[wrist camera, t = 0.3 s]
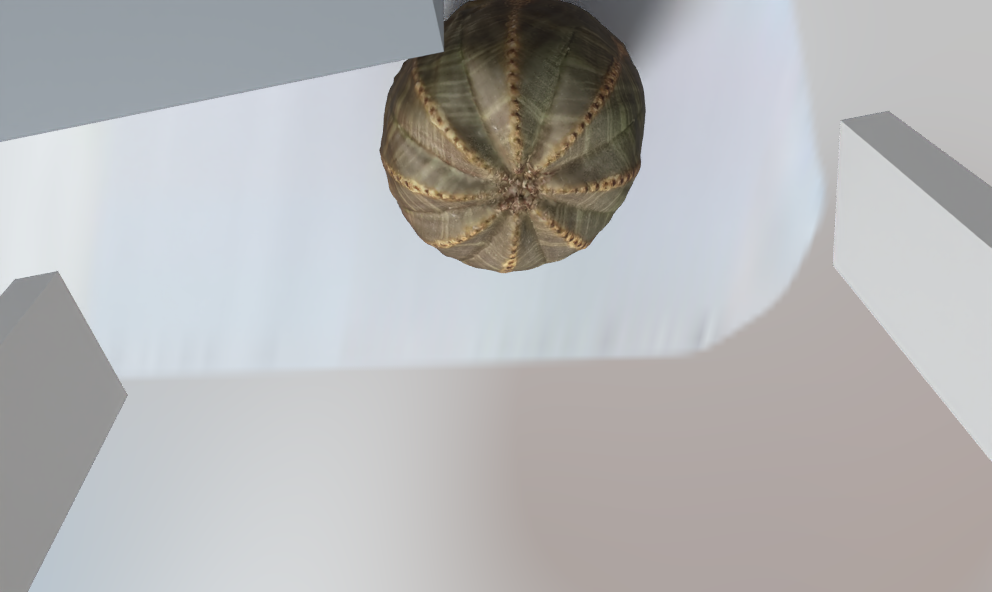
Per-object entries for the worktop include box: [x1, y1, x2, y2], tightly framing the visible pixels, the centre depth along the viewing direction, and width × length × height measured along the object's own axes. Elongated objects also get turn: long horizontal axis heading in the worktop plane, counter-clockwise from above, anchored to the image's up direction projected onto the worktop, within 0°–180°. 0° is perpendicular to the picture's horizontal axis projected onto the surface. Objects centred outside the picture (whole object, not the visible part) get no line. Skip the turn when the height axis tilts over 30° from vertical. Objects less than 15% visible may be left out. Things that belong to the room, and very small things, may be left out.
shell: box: [379, 0, 646, 273], centre depth 34 cm, size 11×11×12 cm
